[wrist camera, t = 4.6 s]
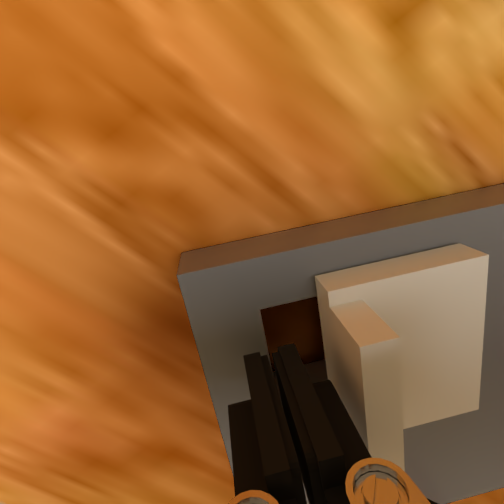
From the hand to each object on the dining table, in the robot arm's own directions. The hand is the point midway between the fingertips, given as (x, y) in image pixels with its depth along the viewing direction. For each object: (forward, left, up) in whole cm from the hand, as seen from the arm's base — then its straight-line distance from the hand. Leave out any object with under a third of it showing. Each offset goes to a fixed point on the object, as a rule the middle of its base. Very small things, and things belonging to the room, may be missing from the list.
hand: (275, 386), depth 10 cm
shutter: (0, -5, -1) cm, 5 cm away
